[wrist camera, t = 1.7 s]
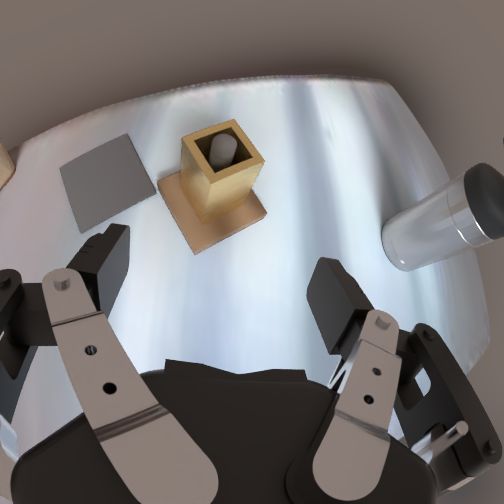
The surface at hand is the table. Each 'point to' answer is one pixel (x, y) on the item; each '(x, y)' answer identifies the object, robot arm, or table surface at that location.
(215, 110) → the table surface
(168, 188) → the peg stand
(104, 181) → the mat
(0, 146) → the purple wedge sandal
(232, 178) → the sleeve
